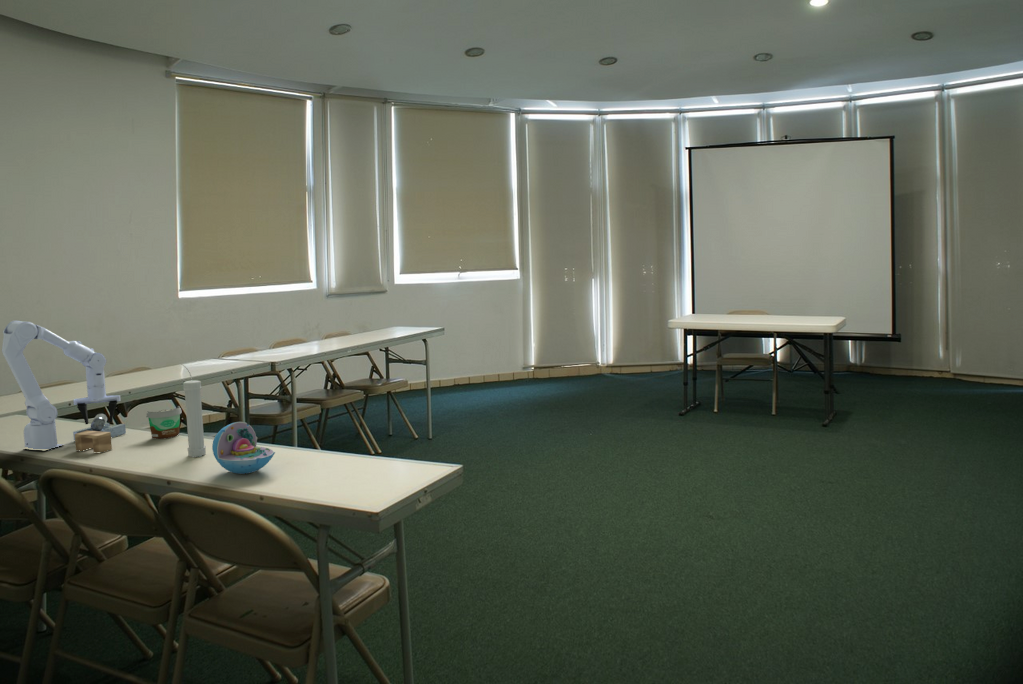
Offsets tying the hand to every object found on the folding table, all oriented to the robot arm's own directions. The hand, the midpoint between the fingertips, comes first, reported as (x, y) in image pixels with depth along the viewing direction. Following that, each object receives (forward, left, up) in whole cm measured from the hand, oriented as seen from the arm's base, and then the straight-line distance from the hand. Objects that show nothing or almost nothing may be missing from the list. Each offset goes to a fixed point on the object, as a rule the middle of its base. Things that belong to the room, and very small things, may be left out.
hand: (99, 422), depth 264 cm
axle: (+1, +1, -2) cm, 2 cm away
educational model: (+79, -23, -6) cm, 82 cm away
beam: (+13, -15, -5) cm, 21 cm away
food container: (+24, +7, -6) cm, 26 cm away
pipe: (+51, -11, -6) cm, 52 cm away
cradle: (0, 0, -5) cm, 5 cm away
